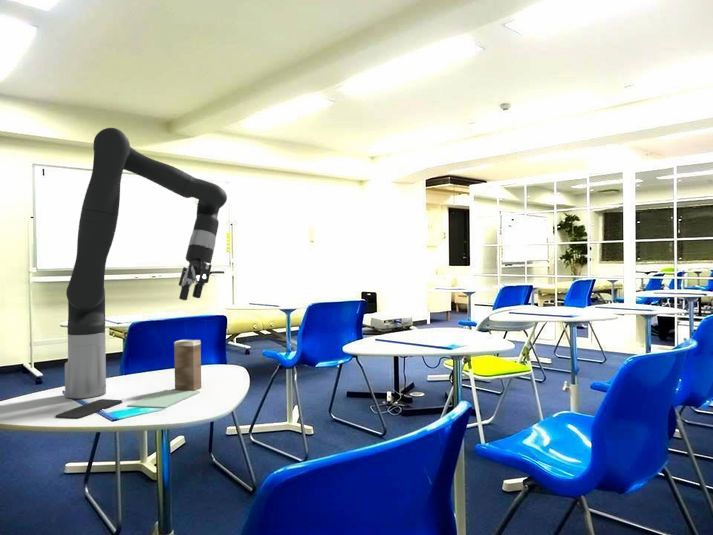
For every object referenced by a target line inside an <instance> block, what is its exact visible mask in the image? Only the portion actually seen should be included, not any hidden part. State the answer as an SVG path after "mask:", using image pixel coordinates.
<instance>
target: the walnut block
mask: <svg viewBox="0 0 713 535" xmlns="http://www.w3.org/2000/svg"><path fill="white" fill-rule="evenodd" d="M173 344H174V345H173V348H174V350H173V352H174V353H173V354H174V355H173V356H174V359H173V360H174V390H179V391H198V390H200V389H202V357H201V355H202V354H201V353H202V352H201V351H202V349H201V348H202V345H201V344H202V342H201V339H179V340H176V341H174V342H173Z"/></svg>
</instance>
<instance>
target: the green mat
mask: <svg viewBox="0 0 713 535" xmlns="http://www.w3.org/2000/svg"><path fill="white" fill-rule="evenodd" d="M200 392H201V391H200V390H199V391H198V390H196V391H179V390H175V389H173V390H170V389H169V390H168V389H164V390H161V391H160V392H157V393H154V394H152V395H149V396H147V397H144V398H141V399H139V400H136V401H134V402H131V403H129V404H127V405H126V407H133V408H134V407H136V408H137V407H139V408H159V409H160V408H161V409H166V408H169V407H171V406H173V405H175V404H177V403H181V402H182V401H184V400H187V399H188V398H191V397H193V396H195V395H198V394H199V393H200Z"/></svg>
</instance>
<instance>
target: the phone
mask: <svg viewBox="0 0 713 535" xmlns="http://www.w3.org/2000/svg"><path fill="white" fill-rule="evenodd" d="M122 403H123V400H122V399H110V398H109V399H105V398H104V399H100V398H99V399H97V400H94V401H91V402H89V403H86V404H83V405H81V406H76V407H75V408H72V409H68V410H66V411H63V412H60V413H58V414H56V415H55V416H54V417H55V418H57V419H70V420H73V419H74V420H79V419H83V418H85V417H88V416H92V415H94V414H97V413H99V412H101V411H100V410H102V409H105V410H106V409H109V408H112V407H114V406H117V405H120V404H122ZM102 411H103V410H102Z"/></svg>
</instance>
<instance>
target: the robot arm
mask: <svg viewBox="0 0 713 535" xmlns="http://www.w3.org/2000/svg"><path fill="white" fill-rule="evenodd" d="M92 144H93V160H92V162H93V163H92V172H91V177H90V180H89V182H88V185H87V189H86V192H85V194H84V198H83V202H82V205H81V211H80V216H79V221H78V230H77V240H76V242H77V244H76V256H75V257H76V258H75V262H74V265H73V269H72V273H71V275H70V280H69V282H68V285H67V287H66V293H65V294H66V298H67V308H68V309H67V311H68V312H67V313H68V314H67V317H68V318H67V326H66V327H67V361H66V362H65V363H64V398H65V399H88V398H95V397H99V396H102V395H105V394H106V393H107V374H106V373H107V372H106V371H107V367H106V364H107V362H106V359H107V358H106V357H107V356H106V355H107V354H106V288H105V275H106V274H105V273H106V264H107V259H108V255H109V253H110V250H111V247H112V245H113V241H114V238H115V234H116V229H117V225H118V217H119V211H120V210H119V209H120V200H121V196H120V195H121V182H122V181H121V180H122V176H123V172H124V171H127V172H131V173H132V174H134V175H138V176H139V177H143V178H144V179H147V180H148V181H151V182H153V183H154V184H157V185H158V186H160V187H162V188H165V189H166V190H169V191H170V192H172V193H175V194H176V195H179V196H180V197H183V198H185V199H189V198H194V199H197V200H198V201H197V205H196V206H197V207H196V219H195V221H194V225H193V230H192V233H191V235H190V239H189V242H188V247H187V250H186V254H185V261H187V262H188V263H189V264H188V266H187V267H185V266H183V267H182V271H181V273H180V274H181V275H180V277H179V282H178V286H180V287H181V289H180V293H179V298H178V299H179V300H182V301H187V300H188V297H189V292H190V288H191V286H192V285H193V284H194V287H193V291H192V298H196V299H200V298H201V296H202V291H203V288H204V286H205V285H206V284H208V283H209V280H210V275H211V268H212V264H211V263H212V260H213V257H214V256H213V255H214V251H215V246H216V239H217V234H218V230H219V226H220V225H219V219H218V215H219V212H220V209H221V208H222V207H223V206H224V205H225V204H226V202H227V200H228V196H227V193H226V191H225V190H224V189H223V188H222V187H220V186H219V185H218V184H215V183H213V182H210V181H208V180H207V181H206V180H204V179H202V178H196V177H194V176H193V175H190V174H189V173H187V172H185V171H183V170H181V169H179V168H178V167H175V166H173V165H170V164H167V163H164V162H162V161H158V160H155V159H152V158H151V157H148V156H146V155H144V154H142V153H140V152H139V151H137V150H135V149H134V148H132V147H131V145H130V141H129V139H128V137H127V136H126V134H125V133H124V132H123V131H122V130H120V129H118V128H116V127H106V128H103V129H101V130H100V131H98V133H97V134H96V135H95V137H94V140H93V143H92Z"/></svg>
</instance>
